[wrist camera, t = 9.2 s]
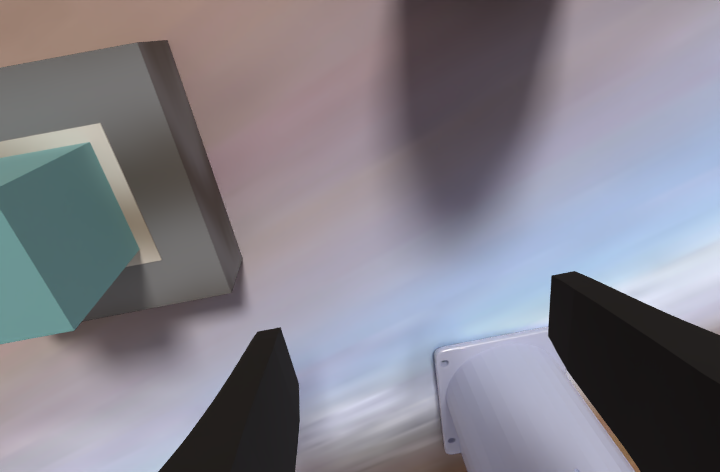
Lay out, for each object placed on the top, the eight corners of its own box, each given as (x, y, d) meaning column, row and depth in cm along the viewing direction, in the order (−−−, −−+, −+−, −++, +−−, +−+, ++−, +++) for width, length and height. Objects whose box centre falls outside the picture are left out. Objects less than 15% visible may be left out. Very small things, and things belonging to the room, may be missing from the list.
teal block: (139, 249, 17) (74, 330, 12) (31, 269, 16) (-75, 358, 12) (89, 141, 15) (-11, 191, 10) (-35, 164, 14) (-191, 224, 10)
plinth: (242, 258, 21) (231, 293, 18) (44, 296, 20) (2, 337, 18) (167, 40, 16) (136, 42, 13) (-89, 87, 16) (-172, 99, 13)
